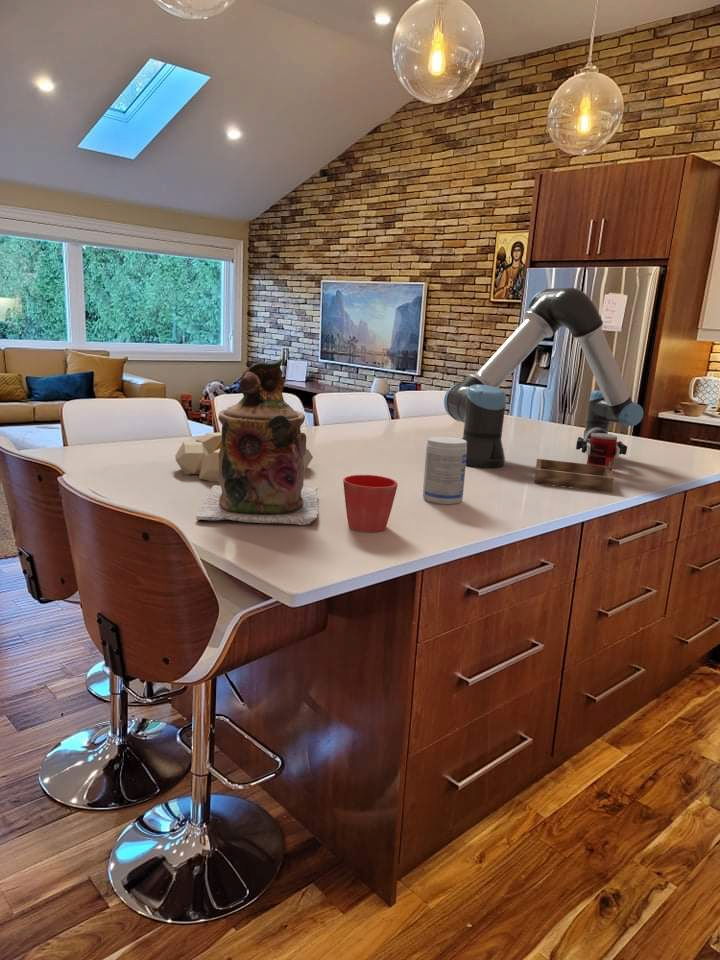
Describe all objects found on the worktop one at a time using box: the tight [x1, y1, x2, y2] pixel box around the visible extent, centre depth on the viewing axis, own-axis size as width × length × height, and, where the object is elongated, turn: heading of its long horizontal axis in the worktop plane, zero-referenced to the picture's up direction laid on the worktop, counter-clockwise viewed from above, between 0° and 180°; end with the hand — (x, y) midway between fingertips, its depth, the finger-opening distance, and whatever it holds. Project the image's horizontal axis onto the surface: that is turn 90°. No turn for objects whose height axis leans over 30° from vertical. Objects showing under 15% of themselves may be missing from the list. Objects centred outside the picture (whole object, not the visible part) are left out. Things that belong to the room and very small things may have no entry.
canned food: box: [586, 433, 618, 472], centre depth 199 cm, size 8×8×11 cm
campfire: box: [174, 406, 314, 483], centre depth 171 cm, size 35×34×17 cm
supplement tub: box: [422, 436, 467, 505], centre depth 153 cm, size 10×10×15 cm
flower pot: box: [342, 474, 399, 533], centre depth 130 cm, size 11×11×10 cm
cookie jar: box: [195, 358, 319, 526], centre depth 135 cm, size 25×25×32 cm
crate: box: [534, 458, 614, 494], centre depth 182 cm, size 20×16×4 cm
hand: (603, 452), depth 195 cm, fingers closed on canned food, 8 cm apart
